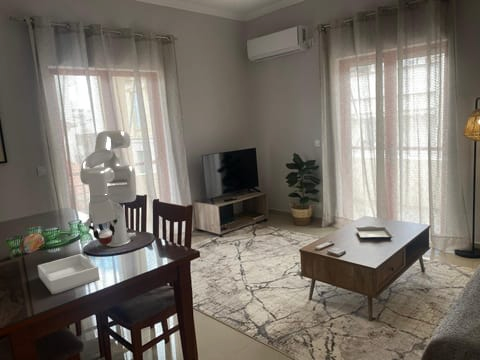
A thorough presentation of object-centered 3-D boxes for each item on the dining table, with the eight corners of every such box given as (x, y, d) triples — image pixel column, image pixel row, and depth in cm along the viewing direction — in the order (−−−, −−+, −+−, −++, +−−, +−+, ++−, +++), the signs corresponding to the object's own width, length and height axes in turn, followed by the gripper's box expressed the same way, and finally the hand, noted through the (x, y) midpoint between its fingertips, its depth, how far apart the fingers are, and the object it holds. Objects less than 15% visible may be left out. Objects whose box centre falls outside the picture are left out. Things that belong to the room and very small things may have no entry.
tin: (25, 255, 182) (22, 239, 181) (20, 255, 183) (17, 239, 181) (46, 245, 197) (44, 230, 195) (41, 245, 197) (39, 230, 196)
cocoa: (114, 245, 160) (112, 220, 157) (99, 247, 157) (96, 222, 155) (111, 237, 168) (109, 213, 165) (97, 240, 166) (94, 215, 163)
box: (82, 264, 166) (81, 253, 165) (99, 279, 149) (98, 266, 148) (39, 277, 154) (37, 265, 153) (52, 294, 138) (50, 281, 137)
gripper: (115, 193, 166) (119, 229, 170) (76, 200, 155) (82, 239, 159) (122, 195, 161) (126, 233, 165) (82, 203, 150) (88, 244, 154)
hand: (104, 236), depth 162 cm, fingers closed on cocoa, 6 cm apart
